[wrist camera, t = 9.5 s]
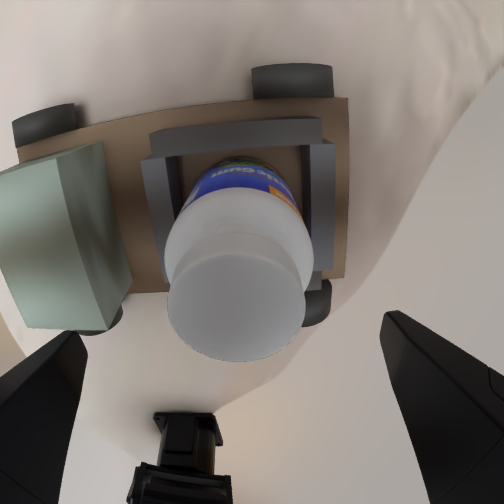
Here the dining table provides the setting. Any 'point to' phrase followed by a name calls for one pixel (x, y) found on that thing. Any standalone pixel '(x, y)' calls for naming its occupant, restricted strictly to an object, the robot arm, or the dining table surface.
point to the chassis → (161, 193)
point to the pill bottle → (238, 263)
